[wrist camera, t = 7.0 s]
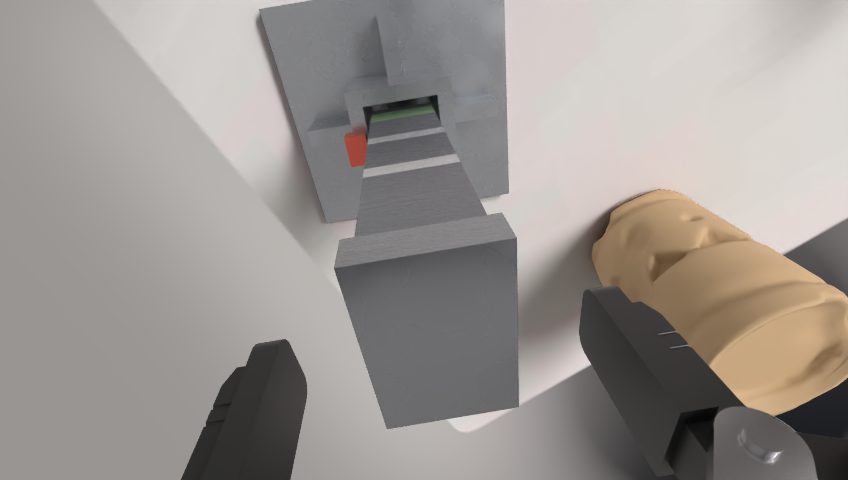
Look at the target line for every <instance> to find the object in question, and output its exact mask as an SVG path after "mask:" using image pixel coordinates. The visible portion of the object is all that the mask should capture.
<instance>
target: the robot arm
mask: <svg viewBox="0 0 848 480" xmlns="http://www.w3.org/2000/svg"><path fill="white" fill-rule="evenodd" d="M579 335H580V341H581V345H582V348H583V350H584V352H585V354H586V356H587V358H588V359H589V361H590V363H591V364H592V366H593V368H594V370H595V371H596V373H597V375H598V376H599V378H600V380H601V382H602V383H603V385H604V387H605V389H606V390H607V392H608V394H609V395H610V397H611V399H612V400H613V402H614V404H615V406H616V407H617V409H618V411H619V413H620V414H621V416H622V418H623V419H624V421H625V423H626V425H627V426H628V428H629V430H630V431H631V433H632V435H633V436H634V438H635V440H636V442H637V443H638V445H639V447H640V449H641V450H642V452H643V454H644V455H645V457H646V459H647V460H648V462H649V464H650V466H651V467H652V469H653V471H654V472H655V474H656V476H657V477H659V476H665V475H670V474H676V476H677V478H678V479H679V480H848V439H842V438H834V437H826V436H819V435H813V434H805V433H800V432H795V431H794V430H793V429H792V428H791V427H789V426H788V425H787V424H785V423H784V422H783V421H781V420H779V419H777V418H776V417H774V416H772V415H770V414H768V413H765V412H763V411H760V410H757V409H753V408H749V407H747V406H745V405H744V404H743V403H742V402H741V401H740V400H739V399H738V398H737V397H736V395H735V394H734V393H733V392H732V391H731V390H730V389H729V388H728V387H727V386H726V384H725V383H724V382H723V381H722V380H721V379H720V378H719V377H718V376H717V375H716V373H715V372H714V371H713V370H712V369H711V368H710V367H709V366H708V365H707V364H706V362H705V361H704V360H703V359H702V358H701V357H700V356H699V355H698V354H697V353H696V351H695V350H694V349H693V348H692V347H689V346H688V343H687V342H686V340H685V339H684V338H683V337H682V336H681V335H680V334H679V333H676V329H675V328H674V327H673V326H672V325H671V324H670V323H669V322H668V321H667V320H666V318H665V317H664V316H663V315H662V314H661V313H659V312H658V311H656V310H654V309H653V308H651V307H649V306H648V305H646V304H644V303H643V302H641V301H639V302H633V303H632V302H631V301H630V300H629V299H628V297H627V296H626V295H625V294H624V293H623V291H622V290H621V289H620V288H619V287H617V286H615V285H612V286H606V287H600V288H594V289H588V290H585V292H584V294H583V301H582V310H581V319H580V327H579ZM306 399H307V383H306V378H305V375H304V373H303V371H302V369H301V367H300V365H299V362H298V360H297V358H296V356H295V354H294V352H293V350H292V348H291V345H290V343H289V342H288V341H287V340H286V339H283V340H277V341H271V342H265V343H259V344H256V345H255V346H254V347H253V349H252V351H251V354H250V356H249V359H248V361H247V364H246V366H244V367H238V368H236V369H235V371H234V372H233V373H232V374H231V375H230V377H229V378H228V379H227V380H226V381H225V383H224V384H223V385H222V387H221V389H220V391H219V393H218V396H217V398H216V400H215V403H214V405H213V410H211V412H210V414H209V416H208V419H207V421H206V427H204V428H203V430H202V432H201V435H200V437H199V439H198V442H197V444H196V446H195V449H194V451H193V453H192V455H191V458H190V460H189V462H188V465H187V467H186V469H185V472H184V474H183V476H182V479H181V480H290V479H291V474H292V469H293V464H294V459H295V454H296V449H297V443H298V439H299V434H300V429H301V424H302V419H303V414H304V409H305V404H306Z"/></svg>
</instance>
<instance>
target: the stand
mask: <svg viewBox="0 0 848 480" xmlns="http://www.w3.org/2000/svg"><path fill="white" fill-rule="evenodd" d="M259 11H260V15H261V18H262V21H263V24H264V27H265V30H266V33H267V37H268V40H269V43H270V46H271V49H272V52H273V55H274V59H275V62H276V65H277V68H278V71H279V74H280V77H281V81H282V84H283V87H284V90H285V93H286V96H287V100H288V103H289V106H290V109H291V112H292V115H293V118H294V122H295V125H296V128H297V131H298V134H299V137H300V140H301V144H302V147H303V150H304V153H305V156H306V159H307V163H308V166H309V169H310V172H311V175H312V178H313V181H314V185H315V188H316V191H317V194H318V197H319V200H320V203H321V207H322V210H323V213H324V216H325V219H326V222H327V224H328V223H334V222H340V221H346V220H352V219H357V216H358V209H359V201H360V194H361V187H362V179H363V172H364V165H365V157H366V150H367V143H368V136H369V128H370V121H371V114H372V112H373V111H379V110H385V109H391V108H397V107H403V106H409V105H415V104H421V103H427V102H430V103H431V105H432V107H433V109H434V111H435V113H436V115H437V117H438V119H439V121H440V123H441V125H442V127H443V129H444V131H445V133H446V135H447V137H448V139H449V140H450V142H451V144H452V146H453V148H454V150H455V152H456V154H457V156H458V158H459V160H460V162H461V164H462V166H463V168H464V170H465V172H466V174H467V176H468V178H469V180H470V182H471V184H472V186H473V188H474V190H475V192H476V194H477V196H478V198H484V197H490V196H496V195H502V194H508V193H509V180H508V139H507V97H506V55H505V13H504V0H312V1H306V2H300V3H294V4H288V5H282V6H276V7H270V8H264V9H259Z"/></svg>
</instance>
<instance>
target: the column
mask: <svg viewBox="0 0 848 480" xmlns="http://www.w3.org/2000/svg"><path fill="white" fill-rule="evenodd" d="M334 270H335V273H336V276H337V279H338V282H339V285H340V288H341V291H342V294H343V297H344V300H345V303H346V306H347V309H348V312H349V315H350V318H351V321H352V324H353V327H354V330H355V334H356V337H357V340H358V343H359V346H360V349H361V352H362V355H363V358H364V361H365V364H366V367H367V370H368V373H369V376H370V379H371V382H372V385H373V388H374V391H375V394H376V397H377V400H378V403H379V406H380V409H381V412H382V415H383V418H384V421H385V424H386V427H387V429H391V428H397V427H403V426H409V425H415V424H421V423H427V422H432V421H439V420H444V419H450V418H456V417H462V416H468V415H474V414H480V413H486V412H492V411H498V410H504V409H510V408H516V407H519V380H518V302H517V237H516V236H515V234H514V232H513V231H512V229H511V227H510V226H509V224H508V222H507V220H506V219H505V217H504V215H503V214H502V213H497V214H491V215H487V214H486V212H485V210H484V208H483V206H482V204H481V202H480V200H479V198H478V196H477V194H476V192H475V190H474V188H473V186H472V184H471V182H470V180H469V178H468V176H467V174H466V172H465V170H464V168H463V166H462V164H461V162H460V160H459V158H458V156H457V154H456V152H455V150H454V148H453V146H452V144H451V142H450V140H449V139H448V137H447V135H446V133H445V131H444V129H443V127H442V125H441V123H440V121H439V119H438V117H437V115H436V113H435V111H434V109H433V107H432V105H431V103H430V102H427V103H421V104H415V105H409V106H403V107H397V108H391V109H385V110H379V111H373V112H372V114H371V121H370V128H369V136H368V143H367V150H366V157H365V165H364V172H363V179H362V187H361V194H360V201H359V209H358V216H357V223H356V230H355V237H353V238H347V239H341V240H340V241H339V246H338V251H337V256H336V261H335V266H334Z"/></svg>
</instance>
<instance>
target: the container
mask: <svg viewBox="0 0 848 480" xmlns="http://www.w3.org/2000/svg"><path fill="white" fill-rule="evenodd" d="M592 261H593V264H594V266H595V270H596V273H597V275H598V278H599V280H600V282H601V284H602V286H603V287H606V286H612V285H615V286H617V287H619V288H620V289H621V290H622V291H623V293H624V294H625V295H626V296H627V297H628V299H629V300H630V301H631V302H632V303H633V302H639V301H641V302H643V303H644V304H646V305H648V306H649V307H651V308H653V309H654V310H656V311H658V312H659V313H661V314H662V315H663V316H664V317H665V318H666V320H667V321H668V322H669V323H670V324H671V325H672V326H673V327H674V328H675V329H676V333H679V334H680V335H681V336H682V337H683V338H684V339H685V340H686V342H687V343H688V346H689V347H692V348H693V349H694V350H695V351H696V353H697V354H698V355H699V356H700V357H701V358H702V359H703V360H704V361H705V362H706V364H707V365H708V366H709V367H710V368H711V369H712V370H713V371H714V372H715V373H716V375H717V376H718V377H719V378H720V379H721V380H722V381H723V382H724V383H725V384H726V386H727V387H728V388H729V389H730V390H731V391H732V392H733V393H734V394H735V395H736V397H737V398H738V399H739V400H740V401H741V402H742V403H743V404H744V405H745V406H747V407H749V408H753V409H757V410H760V411H763V412H765V413H768V414H770V415H772V416H775V415H778V414H781V413H784V412H786V411H789V410H791V409H794V408H796V407H797V406H799V405H801V404H803V403H806V402H808V401H809V400H811V399H813V398H815V397H817V396H818V395H821V394H823V393H825V392H826V391H828V390H830V389H832V388H834V387H836V386H837V385H839V384H840V383H841V382H843V381H844V380H845V379H846V378H848V320H847V317H848V298H847V296H846V295H845V294H844V293H843V292H841V291H839V290H838V289H836V288H835V287H833V286H830V285H828V284H826V283H825V282H824V281H823V280H822V279H820V278H819V277H817V276H816V275H814V274H812V273H811V272H809V271H807V270H806V269H804V268H802V267H801V266H799V265H797V264H796V263H794V262H793V261H791V260H789V259H788V258H786V257H784V256H783V255H781V254H780V253H778V252H776V251H775V250H773V249H771V248H770V247H768V246H765V245H763V244H760V243H758V242H756V241H754V240H753V239H752V238H751V237H750V236H749V235H748V234H747V233H745V232H743V231H742V230H740V229H738V228H737V227H735V226H733V225H732V224H730V223H728V222H727V221H725V220H724V219H722V218H720V217H719V216H717V215H715V214H714V213H712V212H710V211H709V210H707V209H706V208H704V207H702V206H700V205H699V204H696V203H695V202H694V201H692V200H691V199H689V198H688V197H686V196H684V195H682V194H680V193H678V192H675V191H670V190H661V189H658V190H655V191H652V192H649V193H646V194H644V195H641V196H639V197H637V198H635V199H633V200H631V201H629V202H626V203H624V204H622V205H621V206H619V207H618V208H616V209H615V210H614V211H613V212H611V216H610V222H609V225H608V227H607V228H606V232H605V234H604V235H603V237H602V238H601V239H599V240H598V241H597V242H595V243H594V245H593V249H592Z"/></svg>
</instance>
